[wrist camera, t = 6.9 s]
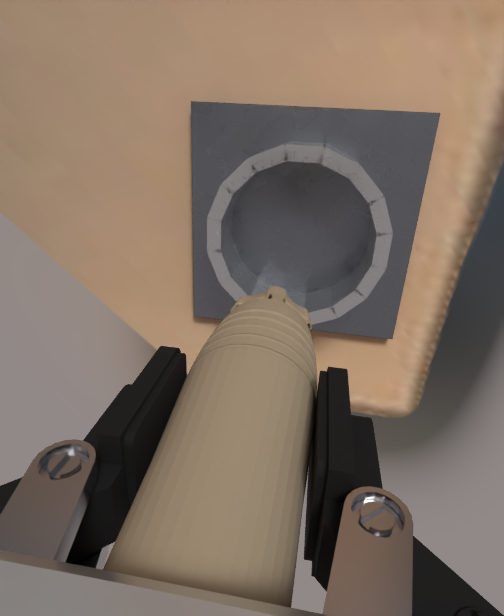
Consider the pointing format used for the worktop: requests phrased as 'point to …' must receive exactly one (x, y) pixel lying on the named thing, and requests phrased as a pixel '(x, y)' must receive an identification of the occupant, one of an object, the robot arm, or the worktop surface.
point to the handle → (231, 461)
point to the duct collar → (307, 208)
